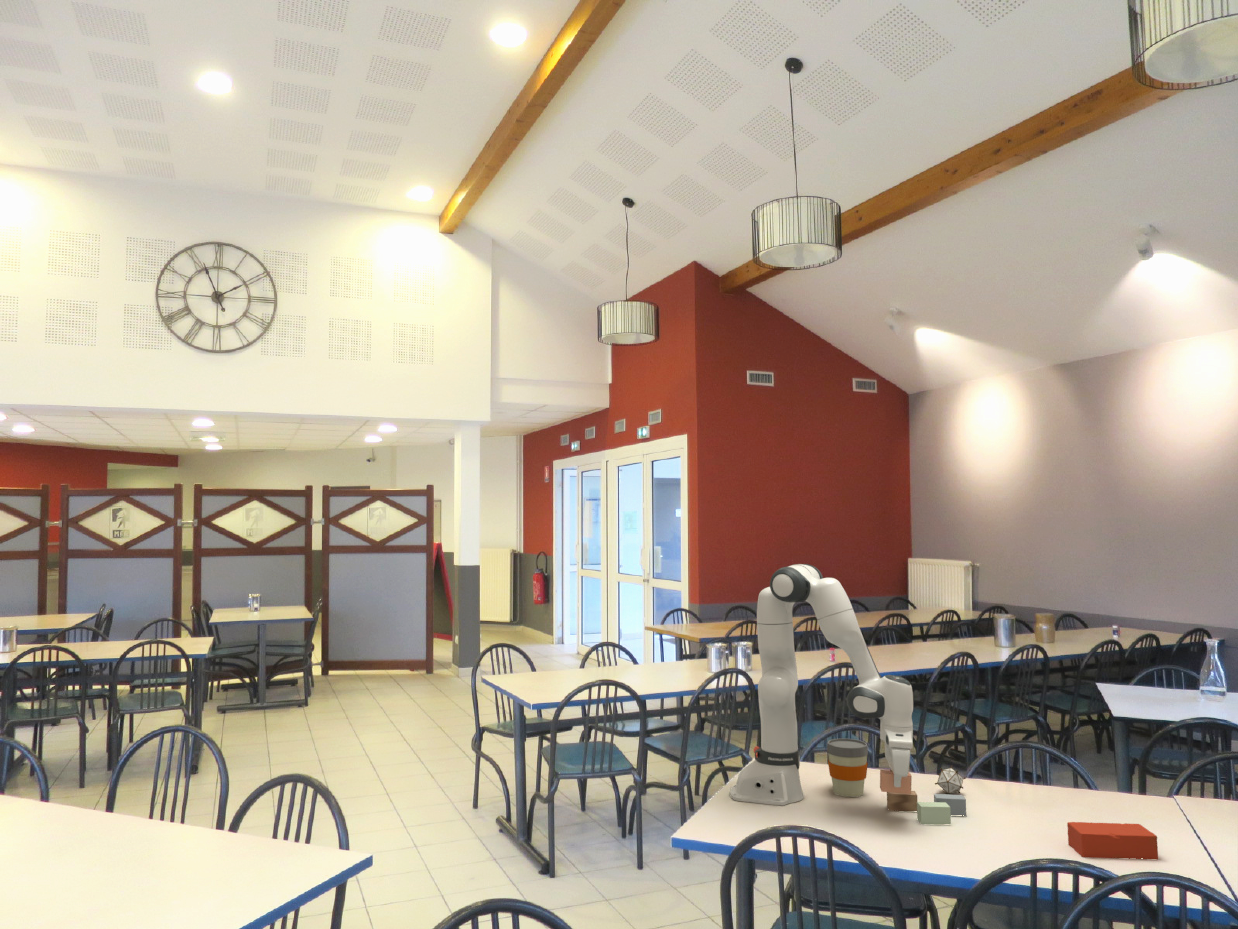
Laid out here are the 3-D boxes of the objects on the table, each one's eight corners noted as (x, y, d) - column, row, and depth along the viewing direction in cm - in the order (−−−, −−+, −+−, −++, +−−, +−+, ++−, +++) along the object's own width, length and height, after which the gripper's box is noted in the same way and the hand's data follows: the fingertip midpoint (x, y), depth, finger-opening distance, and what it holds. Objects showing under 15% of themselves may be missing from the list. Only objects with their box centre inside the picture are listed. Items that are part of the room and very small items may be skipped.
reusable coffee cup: (819, 789, 271) (818, 741, 272) (850, 784, 276) (849, 736, 277) (845, 801, 259) (844, 750, 260) (878, 795, 264) (876, 745, 266)
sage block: (921, 825, 239) (920, 806, 239) (917, 820, 243) (916, 802, 243) (950, 825, 238) (950, 807, 239) (946, 820, 242) (945, 802, 243)
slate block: (937, 816, 246) (936, 798, 246) (934, 811, 250) (933, 793, 250) (966, 817, 245) (965, 799, 245) (963, 813, 249) (962, 795, 249)
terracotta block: (881, 791, 243) (882, 773, 243) (879, 787, 247) (880, 769, 247) (911, 794, 241) (911, 776, 241) (908, 789, 245) (909, 772, 245)
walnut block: (889, 811, 250) (888, 794, 250) (887, 807, 254) (886, 789, 254) (917, 812, 249) (917, 795, 249) (915, 808, 253) (914, 791, 253)
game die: (957, 807, 264) (973, 786, 259) (931, 797, 264) (946, 776, 260) (953, 785, 272) (969, 764, 267) (928, 775, 272) (942, 754, 267)
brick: (1140, 847, 222) (1139, 823, 222) (1158, 861, 213) (1157, 836, 213) (1067, 845, 224) (1066, 821, 224) (1082, 858, 215) (1081, 833, 215)
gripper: (880, 724, 256) (879, 772, 255) (889, 742, 235) (888, 793, 235) (902, 726, 254) (901, 773, 254) (913, 744, 234) (913, 796, 234)
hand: (895, 783), depth 244 cm, fingers closed on terracotta block, 4 cm apart
